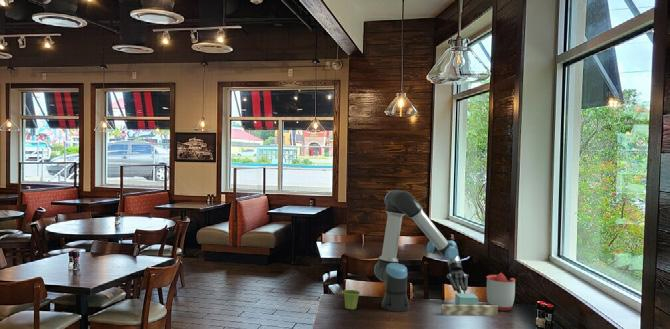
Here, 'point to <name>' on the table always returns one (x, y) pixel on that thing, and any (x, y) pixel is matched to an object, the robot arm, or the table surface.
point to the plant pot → (351, 298)
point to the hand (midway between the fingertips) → (463, 301)
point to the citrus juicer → (500, 291)
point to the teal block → (465, 299)
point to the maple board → (470, 310)
